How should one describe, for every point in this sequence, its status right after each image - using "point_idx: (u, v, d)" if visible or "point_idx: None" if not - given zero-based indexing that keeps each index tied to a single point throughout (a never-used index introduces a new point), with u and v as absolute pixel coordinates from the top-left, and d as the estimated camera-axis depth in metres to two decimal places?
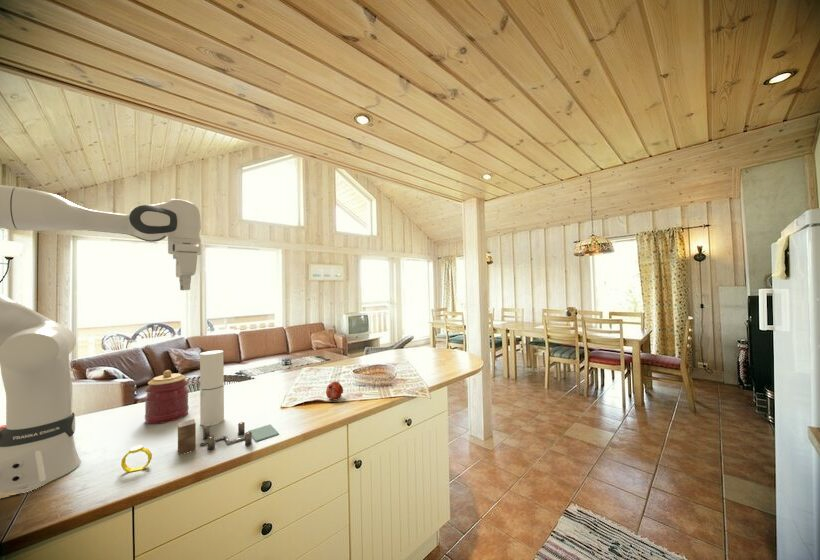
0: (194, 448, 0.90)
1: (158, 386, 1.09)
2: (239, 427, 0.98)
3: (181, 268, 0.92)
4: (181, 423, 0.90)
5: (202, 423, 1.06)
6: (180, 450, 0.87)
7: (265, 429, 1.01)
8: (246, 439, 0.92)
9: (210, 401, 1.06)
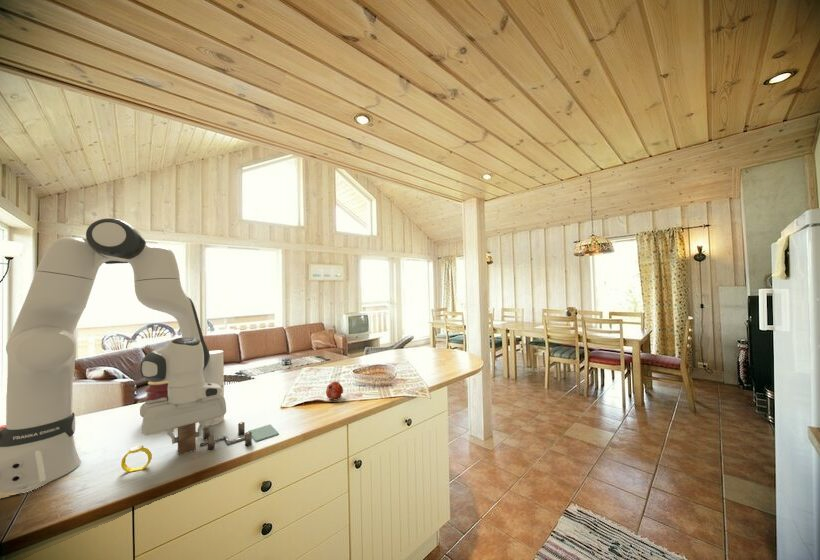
0: (194, 448, 0.90)
1: (158, 386, 1.09)
2: (239, 427, 0.98)
3: None
4: None
5: None
6: (180, 450, 0.87)
7: (265, 429, 1.01)
8: (246, 439, 0.92)
9: None
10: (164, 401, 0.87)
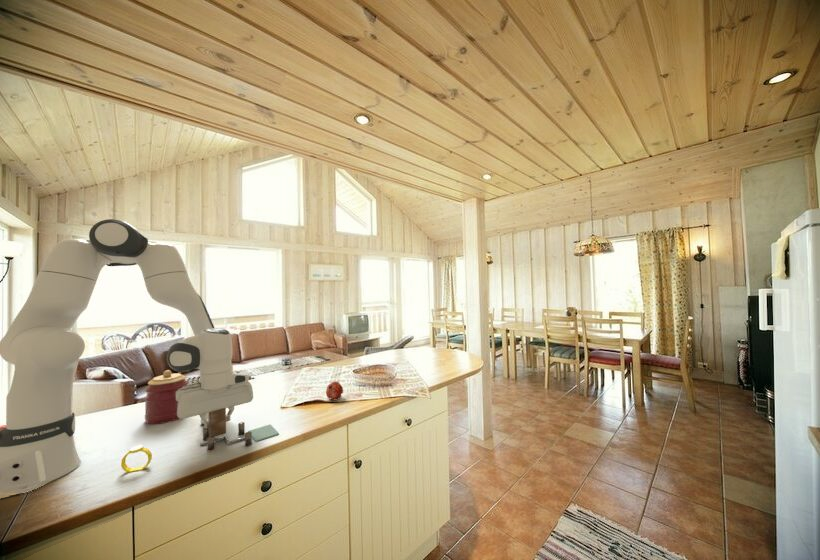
0: (224, 431, 0.95)
1: (158, 386, 1.09)
2: (239, 427, 0.98)
3: (252, 395, 1.01)
4: None
5: (202, 421, 1.06)
6: (212, 433, 0.93)
7: (265, 429, 1.01)
8: (246, 439, 0.92)
9: None
10: (197, 387, 0.92)
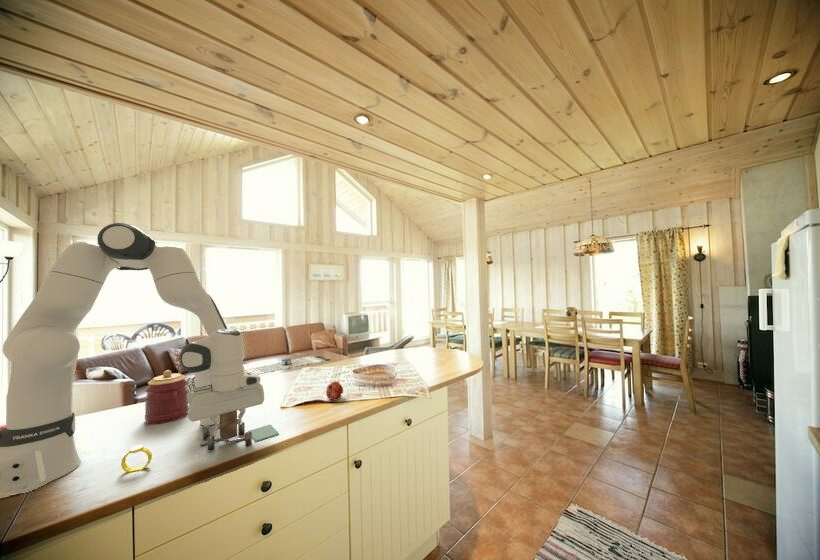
0: (236, 434, 0.93)
1: (158, 386, 1.09)
2: (239, 427, 0.98)
3: None
4: None
5: (202, 423, 1.06)
6: (223, 436, 0.91)
7: (265, 429, 1.01)
8: (246, 439, 0.92)
9: None
10: (208, 389, 0.90)
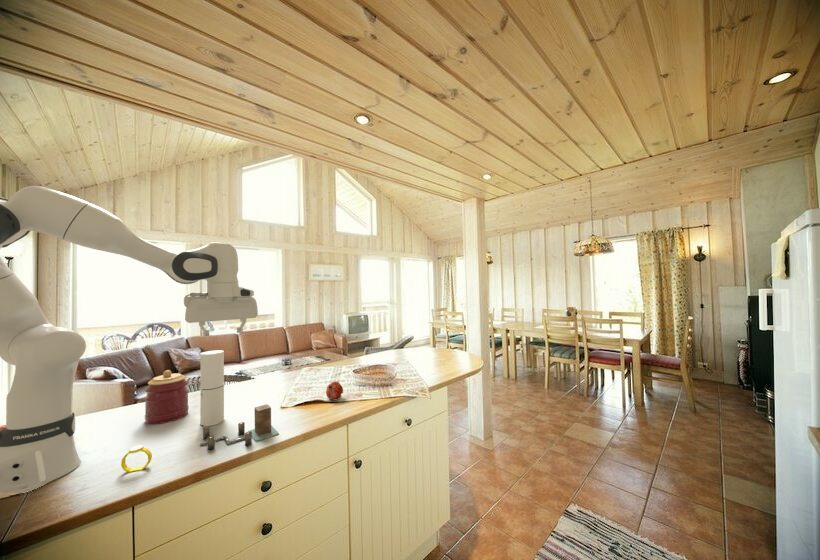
0: (270, 430, 0.99)
1: (158, 386, 1.09)
2: (239, 427, 0.98)
3: (257, 312, 1.04)
4: (258, 407, 0.99)
5: (202, 423, 1.06)
6: (259, 431, 0.97)
7: None
8: (246, 439, 0.92)
9: (211, 401, 1.06)
10: (204, 296, 0.95)
